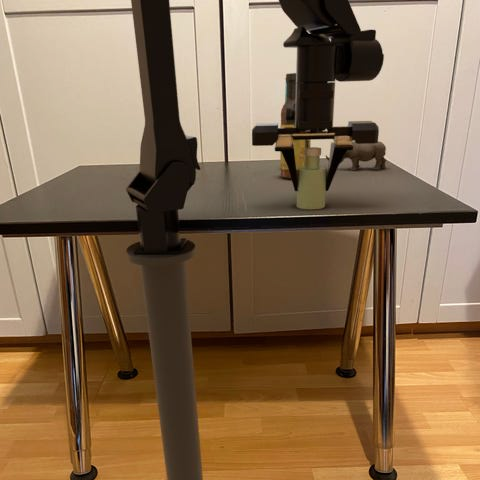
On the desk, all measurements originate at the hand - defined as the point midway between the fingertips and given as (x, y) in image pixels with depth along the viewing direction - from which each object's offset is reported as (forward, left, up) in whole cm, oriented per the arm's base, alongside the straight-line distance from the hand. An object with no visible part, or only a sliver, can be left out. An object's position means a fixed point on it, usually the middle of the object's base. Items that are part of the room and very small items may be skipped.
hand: (311, 190), depth 77 cm
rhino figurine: (+36, -12, -3) cm, 38 cm away
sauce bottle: (+27, +2, -3) cm, 27 cm away
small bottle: (0, 0, -2) cm, 2 cm away
